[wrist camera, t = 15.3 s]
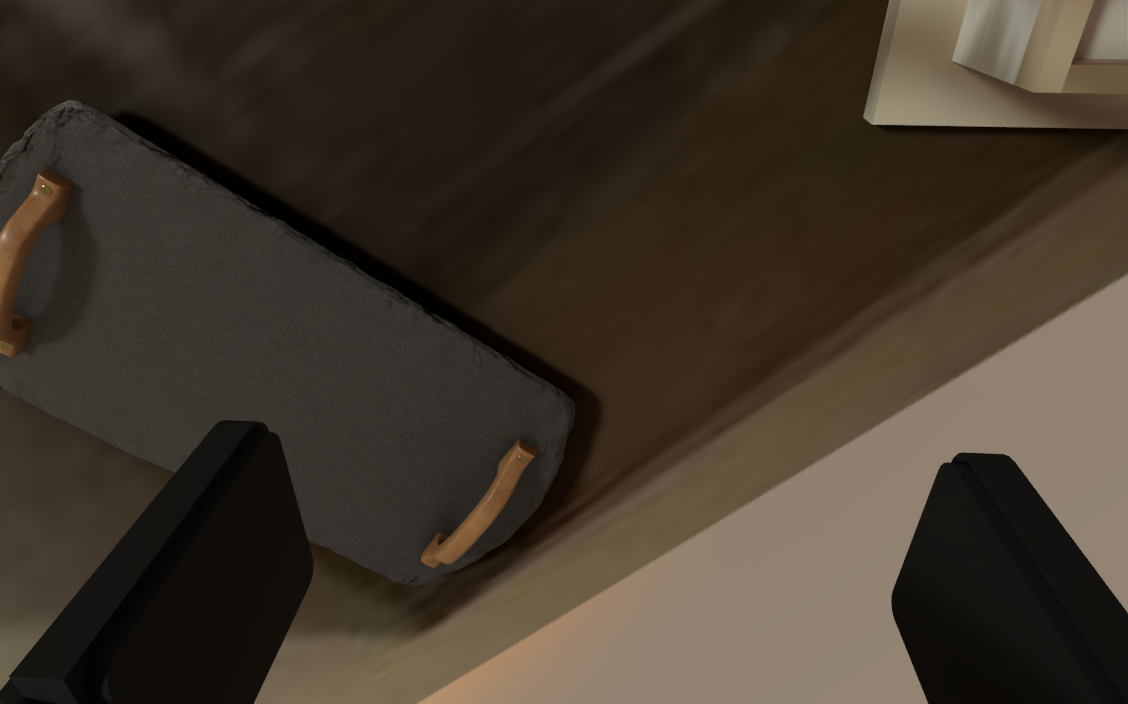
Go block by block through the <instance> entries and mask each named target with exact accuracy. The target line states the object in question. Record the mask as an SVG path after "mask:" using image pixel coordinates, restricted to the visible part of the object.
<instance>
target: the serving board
mask: <svg viewBox="0 0 1128 704" xmlns="http://www.w3.org/2000/svg"><path fill="white" fill-rule="evenodd" d="M0 388H1V389H2V390H4V391H5V392H7V393H8V394H10V395H12V396H13V397H15V398H17V399H18V400H21V401H23V402H26V403H28V404H30V405H32V406H34V407H37V408H39V409H41V410H43V411H44V412H46V413H48V414H49V415H51V416H53V417H55V418H57V419H60V420H62V421H65V422H67V423H70V424H72V425H74V426H76V427H78V428H80V429H81V430H83V431H85V432H87V433H89V434H91V435H93V436H95V437H97V438H99V439H101V440H102V441H104V442H106V443H108V444H110V445H112V446H113V447H115V448H118V449H120V450H122V451H125V452H127V453H128V454H130V455H132V456H135V457H138V458H141V459H144V460H147V461H149V462H151V463H153V464H155V465H158V466H160V467H162V468H165V469H167V470H169V471H171V472H173V473H174V474H175V473H176V472H177V470H178V469H179V468H180V467H181V466H182V464H183V463H184V462H185V461H186V459H187V458H188V457H189V456H190V455H191V453H192V452H193V451H194V450H195V448H196V447H197V446H198V445H199V444H200V442H201V441H202V440H203V439H204V437H205V436H206V435H207V434H208V433H209V431H210V430H211V429H212V428H213V426H214V425H216V424H217V423H218V422H219V421H222V420H234V421H257V422H263V423H264V424H265V425H266V426H267V427H268V429H269V432H274V433H276V434H277V435H278V436H279V438H280V440H281V444H282V448H283V451H284V455H285V459H286V462H287V466H288V470H289V473H290V477H291V481H292V484H293V488H294V492H295V495H296V499H297V503H298V506H299V510H300V514H301V517H302V521H303V524H304V528H305V532H306V535H307V539H308V540H309V541H311V542H313V543H316V544H318V545H321V546H325V547H328V548H329V549H330V550H332V551H333V552H335V553H337V554H339V555H342V556H346V557H348V558H349V559H351V560H352V561H354V562H356V563H357V564H359V565H361V566H363V567H365V568H368V569H370V570H373V571H375V572H377V573H379V574H381V575H383V576H385V577H387V578H389V579H390V580H392V581H395V582H398V583H401V584H404V585H407V586H416V585H422V584H427V583H429V582H432V581H434V580H436V579H437V578H439V577H441V576H444V575H447V574H449V573H452V572H455V571H457V570H460V569H462V568H464V567H466V566H467V565H469V564H471V563H473V562H475V561H476V560H478V559H479V558H481V557H483V556H484V555H485V554H486V553H487V552H489V551H490V550H492V549H494V548H496V547H497V546H499V545H501V544H503V543H504V542H506V541H507V540H508V539H509V538H510V537H511V536H512V535H513V534H514V533H515V531H516V530H517V529H518V528H520V527H521V526H522V524H523V523H524V522H525V521H526V520H527V519H528V518H529V517H530V516H531V515H532V514H533V513H534V512H535V511H536V510H537V509H538V507H539V506H540V505H541V503H542V501H543V499H544V496H545V495H546V493H547V492H548V490H549V488H550V486H551V484H552V482H553V481H554V479H555V477H556V476H557V474H558V470H559V467H560V465H561V464H562V462H563V461H564V454H565V447H566V442H567V439H568V436H569V434H570V432H571V430H572V428H573V424H574V420H575V404H574V402H573V400H572V399H571V398H570V397H569V396H568V395H566V394H565V393H564V392H563V391H562V390H560V389H558V388H557V387H555V386H554V385H552V384H550V383H549V382H547V381H546V380H544V379H542V378H541V377H539V376H537V375H535V374H533V373H532V372H530V371H528V370H527V369H525V368H524V367H522V366H521V365H519V364H517V363H516V362H514V361H513V360H512V359H511V358H509V357H507V356H505V355H503V354H501V353H499V352H498V351H496V350H495V349H493V348H492V347H490V346H488V345H486V344H484V343H482V342H481V341H479V340H477V339H476V338H474V337H472V336H471V335H469V334H467V333H465V332H463V331H462V330H461V329H460V328H459V327H458V326H457V325H456V324H454V323H452V322H449V321H447V320H445V319H443V318H442V317H440V316H438V315H436V314H434V313H432V312H429V311H428V310H427V309H426V308H424V307H423V306H422V305H421V304H419V303H417V302H415V301H413V300H411V299H409V298H408V297H406V296H404V295H403V294H402V293H400V292H399V291H398V290H397V289H396V288H394V287H392V286H390V285H387V284H385V283H384V282H382V281H380V280H379V279H377V278H375V277H373V276H371V275H369V274H367V273H365V272H364V271H362V270H361V269H360V268H358V267H357V266H356V265H355V264H354V263H353V262H351V261H349V260H346V259H344V258H341V257H340V256H338V255H336V254H334V253H332V252H331V251H330V250H328V249H327V248H326V247H325V246H324V245H322V244H320V243H318V242H316V241H314V240H313V239H311V238H309V237H308V236H306V235H304V234H302V233H300V232H298V231H297V230H295V229H294V228H292V227H291V226H290V225H289V224H288V223H286V222H285V221H283V220H281V219H279V218H277V217H275V216H273V215H272V214H270V213H268V212H266V211H265V210H263V209H261V208H260V207H258V206H256V205H255V204H253V203H252V202H250V201H248V200H247V199H245V198H244V197H242V196H241V195H239V194H237V193H235V192H233V191H231V190H228V189H227V188H225V187H224V186H222V185H220V184H219V183H217V182H216V181H214V180H213V179H211V178H209V177H208V176H206V175H205V174H203V173H201V172H200V171H198V170H197V169H195V168H194V167H192V166H191V165H189V164H187V163H185V162H183V161H181V160H180V159H178V158H176V157H175V156H173V155H172V154H170V153H168V152H167V151H165V150H163V149H161V148H160V147H158V146H156V145H155V144H153V143H152V142H150V141H148V140H146V139H145V138H143V137H141V136H139V135H138V134H136V133H135V132H133V131H132V130H130V129H128V128H127V127H125V126H124V125H122V124H121V123H119V122H117V121H115V120H114V119H112V118H110V117H109V116H107V115H105V114H103V113H102V112H100V111H98V110H97V109H95V108H93V107H90V106H88V105H86V104H84V103H81V102H79V101H72V100H68V101H66V102H64V103H62V104H60V105H58V106H56V107H54V108H52V109H51V110H49V111H47V112H46V113H44V114H43V115H42V116H41V117H40V118H39V119H38V120H37V121H36V122H35V123H34V124H33V125H32V126H31V127H30V128H29V129H28V130H27V131H25V133H24V135H23V138H22V139H21V140H19V141H17V142H15V143H13V144H12V145H11V147H10V148H9V149H8V151H7V152H6V153H5V155H4V156H3V157H2V159H1V160H0Z"/></svg>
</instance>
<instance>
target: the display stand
mask: <svg viewBox="0 0 1128 704" xmlns="http://www.w3.org/2000/svg"><path fill="white" fill-rule="evenodd" d="M863 118H864V119H866V120H867V121H868V122H870V123H871V124H872V125H926V126H982V127H1038V128H1094V129H1128V0H889V5H888V9H887V13H886V18H885V22H884V27H883V31H882V36H881V40H880V45H879V49H878V54H877V58H876V63H875V67H874V72H873V76H872V81H871V85H870V89H869V94H868V98H867V103H866V107H865V112H864V116H863Z"/></svg>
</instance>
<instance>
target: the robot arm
mask: <svg viewBox="0 0 1128 704" xmlns="http://www.w3.org/2000/svg"><path fill="white" fill-rule="evenodd" d="M312 575H313V557H312V554H311V550H310V546H309V543H308V539H307V535H306V532H305V528H304V524H303V521H302V517H301V514H300V510H299V506H298V503H297V499H296V495H295V492H294V488H293V484H292V481H291V477H290V473H289V470H288V466H287V462H286V459H285V455H284V451H283V448H282V444H281V440H280V438H279V436H278V435H277V434H276V433H274V432H269V429H268V427H267V426H266V425H265V424H264V423H263V422H257V421H234V420H222V421H219V422H218V423H217V424H216V425H214V426H213V428H212V429H211V430H210V431H209V433H208V434H207V435H206V436H205V437H204V439H203V440H202V441H201V442H200V444H199V445H198V446H197V447H196V448H195V450H194V451H193V452H192V453H191V455H190V456H189V457H188V458H187V459H186V461H185V462H184V463H183V464H182V466H181V467H180V468H179V469H178V470H177V472H176V473H175V474H174V475H173V477H172V478H171V479H170V480H169V481H168V483H167V484H166V485H165V486H164V488H163V489H162V490H161V491H160V492H159V494H158V495H157V496H156V497H155V499H154V500H153V501H152V502H151V503H150V505H149V506H148V507H147V508H146V510H145V511H144V512H143V513H142V514H141V516H140V517H139V518H138V519H137V521H136V522H135V523H134V524H133V525H132V527H131V528H130V529H129V530H128V532H127V533H126V534H125V535H124V537H123V538H122V539H121V540H120V541H119V543H118V544H117V545H116V546H115V548H114V549H113V550H112V551H111V552H110V554H109V555H108V556H107V557H106V559H105V560H104V561H103V562H102V563H101V565H100V566H99V567H98V568H97V570H96V571H95V572H94V573H93V574H92V576H91V577H90V578H89V579H88V581H87V582H86V583H85V584H84V585H83V587H82V588H81V589H80V590H79V592H78V593H77V594H76V595H75V596H74V598H73V599H72V600H71V601H70V603H69V604H68V605H67V606H66V607H65V609H64V610H63V611H62V612H61V614H60V615H59V616H58V617H57V618H56V620H55V621H54V622H53V623H52V625H51V626H50V627H49V628H48V629H47V631H46V632H45V633H44V634H43V636H42V637H41V638H40V639H39V640H38V642H37V643H36V644H35V645H34V647H33V648H32V649H31V650H30V652H29V653H28V654H27V655H26V656H25V658H24V659H23V660H22V661H21V663H20V664H19V665H18V666H17V667H16V669H15V670H14V671H13V672H12V674H11V675H10V676H9V677H10V680H9V681H8V682H7V683H6V685H5V686H4V687H3V688H2V689H1V691H0V704H254V702H255V700H256V697H257V695H258V693H259V691H260V689H261V687H262V685H263V683H264V681H265V678H266V676H267V674H268V672H269V670H270V668H271V666H272V664H273V661H274V659H275V657H276V655H277V653H278V651H279V649H280V647H281V645H282V642H283V640H284V638H285V636H286V634H287V632H288V630H289V628H290V625H291V623H292V621H293V619H294V617H295V615H296V613H297V611H298V609H299V606H300V604H301V602H302V600H303V598H304V596H305V594H306V592H307V589H308V587H309V585H310V582H311V579H312ZM891 602H892V611H893V616H894V619H895V622H896V624H897V627H898V629H899V631H900V634H901V637H902V639H903V642H904V644H905V647H906V649H907V651H908V654H909V656H910V659H911V662H912V664H913V666H914V669H915V672H916V674H917V677H918V679H919V682H920V684H921V686H922V689H923V691H924V694H925V696H926V699H927V701H928V704H1128V613H1127V612H1126V610H1125V609H1124V608H1123V606H1122V605H1121V603H1120V602H1119V601H1118V600H1117V598H1116V597H1115V596H1114V594H1113V593H1112V592H1111V590H1110V589H1109V587H1108V586H1107V585H1106V583H1105V582H1104V581H1103V579H1102V578H1101V577H1100V575H1099V574H1098V573H1097V571H1096V570H1095V569H1094V567H1093V566H1092V565H1091V563H1090V562H1089V561H1088V559H1087V558H1086V557H1085V555H1084V554H1083V553H1082V551H1081V550H1080V549H1079V547H1078V546H1077V545H1076V543H1075V542H1074V541H1073V539H1072V538H1071V537H1070V535H1069V534H1068V533H1067V531H1066V530H1065V529H1064V527H1063V526H1062V524H1061V523H1060V522H1059V520H1058V519H1057V518H1056V516H1055V515H1054V514H1053V512H1052V511H1051V510H1050V508H1049V507H1048V506H1047V504H1046V503H1045V502H1044V500H1043V499H1042V498H1041V496H1040V495H1039V494H1038V492H1037V491H1036V490H1035V488H1034V487H1033V486H1032V484H1031V483H1030V482H1029V480H1028V479H1027V478H1026V476H1025V475H1024V474H1023V472H1022V471H1021V470H1020V468H1019V467H1018V466H1017V464H1016V463H1015V462H1014V461H1013V460H1012V459H1011V458H1010V457H1009V456H1007V455H1004V454H984V453H959V454H957V455H956V456H955V457H954V458H953V460H952V462H951V463H943V464H942V465H941V467H940V468H939V470H938V473H937V475H936V478H935V481H934V483H933V486H932V489H931V491H930V494H929V497H928V499H927V502H926V504H925V507H924V510H923V512H922V515H921V518H920V520H919V523H918V526H917V528H916V531H915V534H914V536H913V539H912V541H911V544H910V547H909V550H908V552H907V555H906V557H905V560H904V563H903V565H902V568H901V571H900V574H899V576H898V578H897V581H896V584H895V586H894V589H893V592H892V600H891Z"/></svg>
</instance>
